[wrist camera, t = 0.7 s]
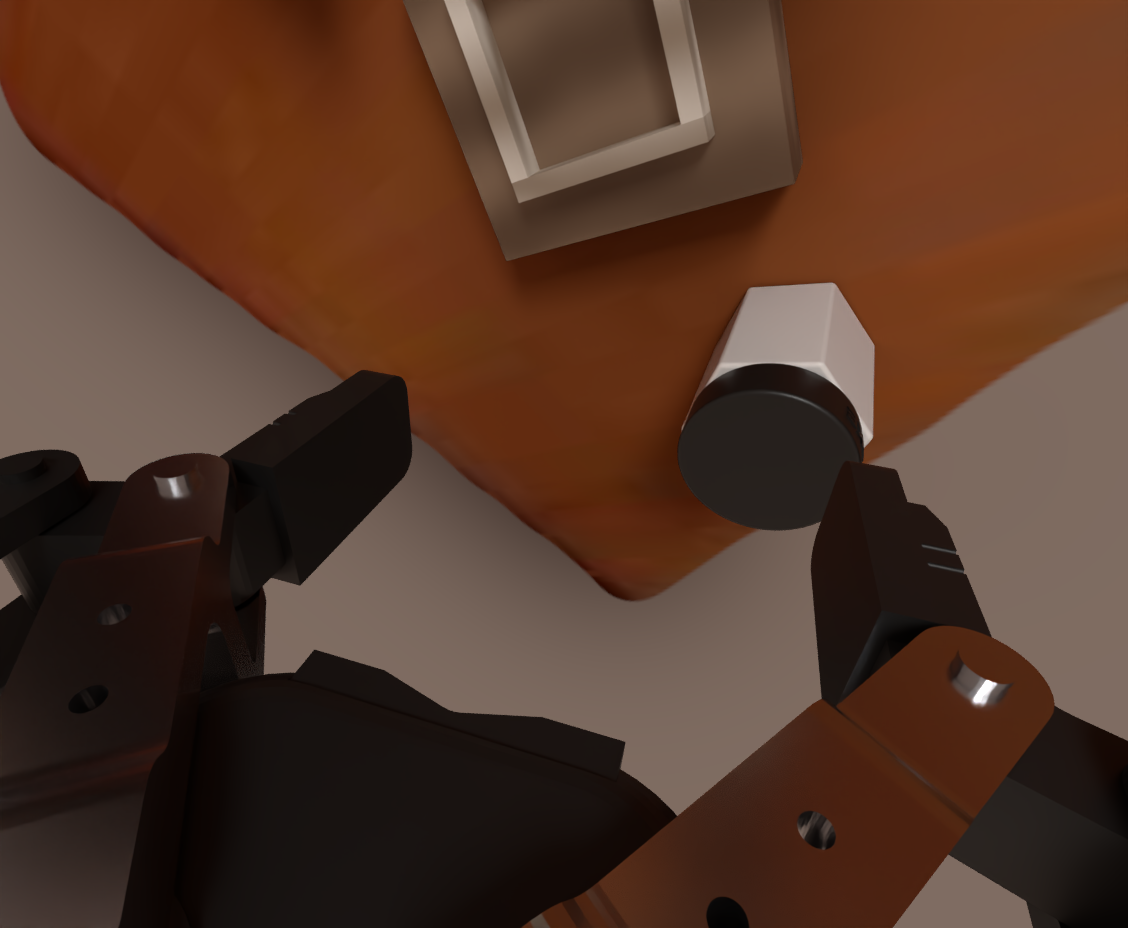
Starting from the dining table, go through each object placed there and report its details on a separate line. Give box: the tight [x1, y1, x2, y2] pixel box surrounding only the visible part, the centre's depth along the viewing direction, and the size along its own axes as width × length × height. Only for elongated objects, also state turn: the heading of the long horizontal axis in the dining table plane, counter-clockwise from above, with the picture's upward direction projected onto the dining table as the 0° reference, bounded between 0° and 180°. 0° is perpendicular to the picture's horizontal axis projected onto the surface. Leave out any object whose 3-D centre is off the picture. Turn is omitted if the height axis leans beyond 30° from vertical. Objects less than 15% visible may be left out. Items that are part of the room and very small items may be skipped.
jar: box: [677, 283, 875, 530], centre depth 32 cm, size 9×8×12 cm
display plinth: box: [403, 0, 803, 261], centre depth 29 cm, size 16×16×6 cm
